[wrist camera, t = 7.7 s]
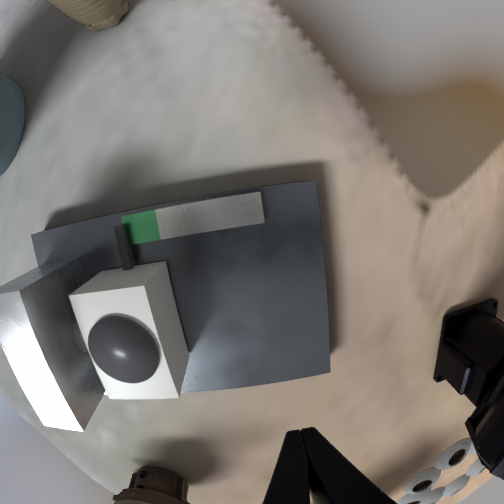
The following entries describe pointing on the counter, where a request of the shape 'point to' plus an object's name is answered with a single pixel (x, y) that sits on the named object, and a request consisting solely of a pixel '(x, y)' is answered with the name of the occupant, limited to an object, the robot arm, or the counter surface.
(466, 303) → the counter surface
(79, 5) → the handle
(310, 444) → the robot arm
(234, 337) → the bench
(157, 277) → the white box with dome
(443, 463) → the grey flat openwork piece
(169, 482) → the industrial component
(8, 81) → the teal cup
